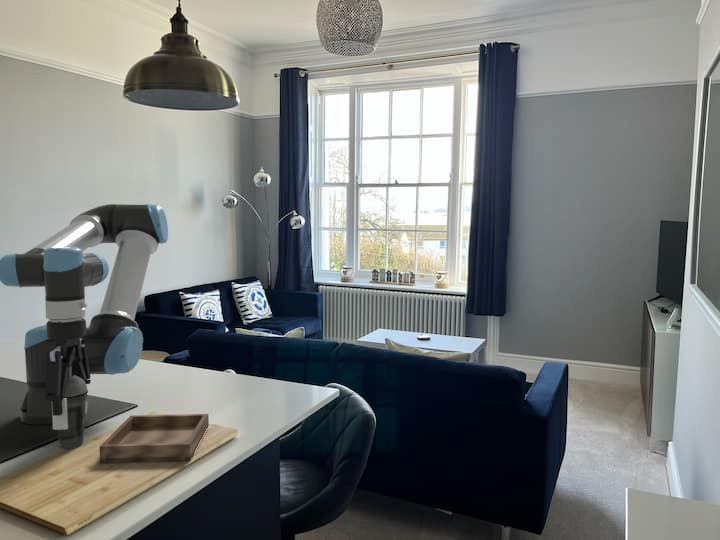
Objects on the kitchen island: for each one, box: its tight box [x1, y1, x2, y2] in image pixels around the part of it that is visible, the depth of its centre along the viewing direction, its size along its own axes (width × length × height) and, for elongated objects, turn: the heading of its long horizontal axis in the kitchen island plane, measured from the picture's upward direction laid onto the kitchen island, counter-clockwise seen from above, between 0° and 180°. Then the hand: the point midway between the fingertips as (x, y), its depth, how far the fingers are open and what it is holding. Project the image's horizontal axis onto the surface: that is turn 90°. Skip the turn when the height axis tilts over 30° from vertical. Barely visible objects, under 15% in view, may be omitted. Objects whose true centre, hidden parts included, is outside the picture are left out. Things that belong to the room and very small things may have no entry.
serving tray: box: [98, 413, 210, 464], centre depth 120 cm, size 18×18×4 cm
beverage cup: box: [56, 366, 89, 450], centre depth 119 cm, size 7×7×20 cm
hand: (70, 420), depth 119 cm, fingers open, 9 cm apart
